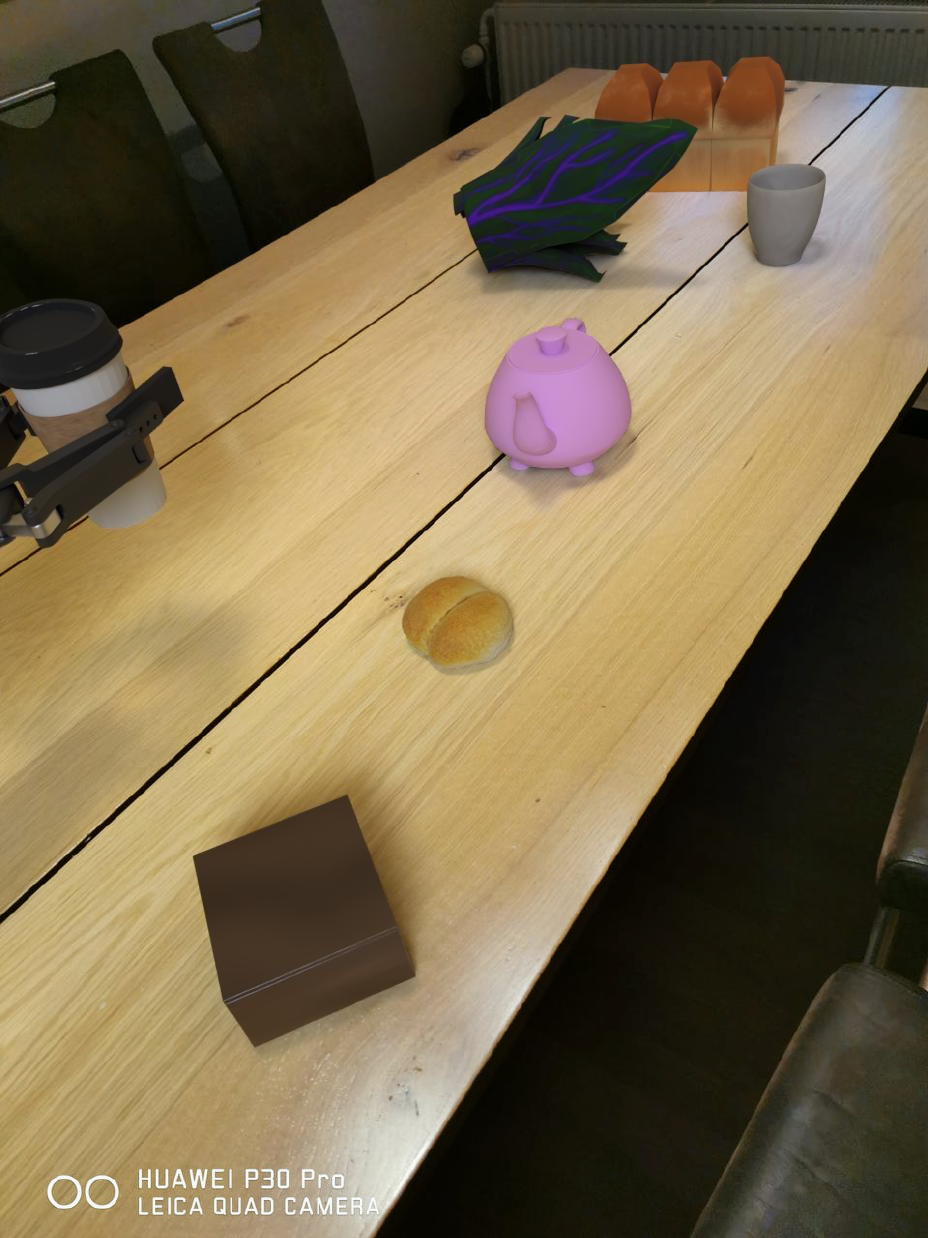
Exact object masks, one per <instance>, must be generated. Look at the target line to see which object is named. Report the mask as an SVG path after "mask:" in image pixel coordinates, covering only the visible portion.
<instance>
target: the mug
mask: <svg viewBox="0 0 928 1238" xmlns="http://www.w3.org/2000/svg"><path fill="white" fill-rule="evenodd" d="M826 183H827V176H826V174H825V171H824V170H822V169H821V168H819V167H817V166H814V165H810V164H804V163H781V164H775V165H774V166H769V167H765V168H762V169H760V170H758V171H756V172H754V173H753V174H752V175H751V176H750V178H749V180H748V186H747V191H746V217H747V226H748V231H749V236H750V239H751V243H752V245H753V248H754V250H755V253H756V259H757V261H758V262H760V263H761V264H763V265H766V266H770V267H783V266H785V267H786V266H791V265H794V264H796V263H797V262H799V261H800V260H801V259H802V257H803V254H804V252H805V250H806V248H807V246H808V245H809V243H810V241H811V239H812V237H813V235H814V233H815V230H816V229H817V225H818V222H819V219H820V215H821V212H822V208H823V203H824V198H825V191H826Z"/></svg>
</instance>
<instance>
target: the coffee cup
mask: <svg viewBox="0 0 928 1238" xmlns="http://www.w3.org/2000/svg"><path fill="white" fill-rule="evenodd" d="M123 344H124V339H123V337H122V335H121V334H120V331H119V328H118V327H117V326H116V325H114V323H112V322H111V321H110V319H109V317H108V315H107V313H106V312H105V310H104V309H103V308H102V307H101V306H100V305H98V304H96V303H94V302H91V301H87V300H82V299H75V298H47V299H41V300H36V301H32V302H29V303H26V304H23V305H20V306H18V307H16V308H13V309H11V310H9V311H6V312H5V313H3V314H1V315H0V384H1V385H3V386H5V387H7V388H10V389H11V391H12V393H13V394H14V396H15V398H16V399H17V400H18V406H19V409H20V410H21V412H22V413H23V415H24V416H25V418H26V419H27V421H28V422H29V424H30V426H31V427H32V429H33V430H34V432H35V433H36V435H37V436H38V437H37V438H38V440H39V441H40V442H41V444H42V446H43V447H44V449H45V451H46V452H47V455H48V454H50V453H51V452H53V451H55V450H57V449H59V448H61V447H63V446H65V445H67V444H69V443H71V442H72V441H74V440H76V439H78V438H80V437H82V436H84V435H86V434H88V433H90V432H92V431H94V430H95V429H97V428H99V427H101V426H103V425H105V424H107V423H109V422H108V420H107V418H106V416H105V415H106V414H107V413H108V412H109V411H111V410H112V409H113V408H114V407H115V406H117V405H118V404H120V403H121V402H122V401H123V400H124V399H125V398H126V397H127V396H128V395H130V394H131V393H132V392H133V391H134V390H135V389H136V386H135V383H134V379H133V376H132V373H131V370H130V368H129V367H128V366H127V365H126V364H125V360H124V358H123V354H122V352H121V349H122V348H123V346H124V345H123ZM144 442H145V445H146V447H147V449H148V452H149V454H150V457H151V459H152V463H151V464H150V465H149V466H148V467H147V468H145V469H144V470H143V471H142V472H140V473H139V474H138V475H136V476H135V477H134V478H132V479H131V480H130V481H128V482H127V483H126V484H124V485H123V486H122V487H120V488H119V489H118V490H116V491H115V492H114V493H113V494H111V495H110V496H109V497H107V498H106V499H105V500H103V501H102V502H101V503H99V504H98V505H97V506H95V507H94V508H93V509H91V510H90V511H89V512H88V513H86V515H87V517H88V518H89V519H90V521H91V523H93V524H94V525H95V526H96V527H99V528H101V529H107V530H121V529H126V528H130V527H133V526H136V525H139V524H141V523H143V522H145V521H147V520H149V519H151V518H153V516H155V515H156V514H157V513H159V511H161V509H162V508H163V507H164V505H165V504H166V502H167V498H168V491H167V489H166V486H165V483H164V479H163V476H162V473H161V470H160V467H159V465H158V461H157V458H156V455H155V449H154V446H153V444H152V440H151V436H150V434H149V435H148V436H147V437H146V438H145V439H144Z"/></svg>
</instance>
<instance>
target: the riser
mask: <svg viewBox="0 0 928 1238" xmlns="http://www.w3.org/2000/svg"><path fill="white" fill-rule="evenodd" d="M192 861H193V866H194V869H195V875H196V879H197V884H198V888H199V894H200V898H201V904H202V908H203V913H204V918H205V923H206V928H207V932H208V937H209V942H210V947H211V951H212V956H213V961H214V966H215V971H216V975H217V980H218V985H219V989H220V995H221V999H222V1002H223V1004H224V1005H225V1007H226V1008H227V1009H228V1011H229V1013H230V1014H231V1015H232V1017H233V1018H234V1020H235V1022H236V1023H237V1024H238V1025H239V1027H240V1029H241V1030H242V1031H243V1033H244V1035H245V1036H246V1038H247V1040H249V1041H250V1043H251V1045H252V1046H253V1047H254V1048H257V1047H259V1046H262V1045H264V1044H266V1043H269V1042H271V1041H273V1040H276V1039H278V1038H280V1037H282V1036H284V1035H286V1034H288V1033H291V1032H293V1031H296V1030H297V1029H301V1028H302V1027H305V1026H306V1025H309V1024H311V1023H314V1022H316V1021H318V1020H320V1019H322V1018H325V1017H327V1016H330V1015H332V1014H333V1013H336V1012H339V1011H341V1010H343V1009H345V1008H348V1007H350V1006H352V1005H355V1004H356V1003H359V1002H361V1001H363V1000H365V999H367V998H370V997H372V996H374V995H377V994H379V993H382V992H383V991H386V990H389V989H390V988H393V987H395V986H397V985H400V984H402V983H404V982H406V981H408V980H410V979H413V978H415V977H416V973H415V970H414V968H413V963H412V962H411V959H410V956H409V953H408V950H407V947H406V946H405V945H406V944H405V943H404V940H403V936H402V934H401V931H400V929H399V926H398V924H397V921H396V918H395V915H394V913H393V910H392V908H391V907H392V906H391V905H390V902H389V900H388V897H387V894H386V892H385V888H384V886H383V884H382V881H381V878H380V876H379V873H378V870H377V868H376V865H375V863H374V860H373V858H372V854H371V852H370V849H369V847H368V844H367V841H366V839H365V835H364V833H363V830H362V828H361V826H360V823H359V820H358V818H357V815H356V813H355V810H354V807H353V804H352V802H351V799H350V797H349V794H348V793H346V794H344V795H341V796H339V797H336V798H334V799H331V800H329V801H325V802H324V803H321V804H318V805H315V806H314V807H311V808H309V809H306V810H304V811H301V812H299V813H297V814H294V815H291V816H289V817H286V818H284V819H281V820H278V821H276V822H273V823H272V824H269V825H267V826H264V827H261V828H258V829H256V830H254V831H251V832H249V833H246V834H243V835H241V836H239V837H236V838H234V839H231V840H229V841H226V842H223V843H220V844H219V845H216V846H214V847H211V848H209V849H206V850H204V851H201V852H198V853H196V854H194V855H192Z"/></svg>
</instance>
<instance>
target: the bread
mask: <svg viewBox="0 0 928 1238" xmlns="http://www.w3.org/2000/svg"><path fill="white" fill-rule="evenodd" d="M784 75H785V74H784V72H783V71H782V68H781V65H780V64H779V63H777V62H776V61H775V60H774V59H773V58H771V57H770V56H756V57H755V56H754V57H741V58H740V59H738V60H737V62H735V63H734V65H733V66H732V67H731V68H730V70H729V72H728V74H727V76H726V78H725V80H724V76H723V73H722V69H721V68H720V67H719V65H717V64H716V63H715V62H714V61H713V60H712V59H709V60H694V61H693V60H692V61H676V62H674V63H673V65H672V66H671V67H670V70H669V71H668V73H667V75H666V76H665V79H664V78H663V76H662V73H661V72H660V71H659V70H658V69H656V68H655V67H654V66H651V65H650V64H649V63H648V62H646V63H645V62H644V63H643V62H642V63H629V64H628V63H626V64H621V65H620V66H619V67H618V69H617V70H616V72H615V73H614V74H613V75H612V76H611V78H610V79H609V81H608V83H607V84H606V85H605V86H604V87H603V89H602V90H601V93H600V96H599V98H598V102H597V104H596V108H595V110H594V118H593V119H603V120H614V121H626V122H638V123H642V122H647V121H652V120H656V119H667V118H674V119H680V120H682V121H684V122H686V123H688V124H690V125H692V126H694V127H696V128H698V130H697V132H696V134H695V136H694V138H693V139H692V141H691V143H690V145H689V147H688V149H687V150H686V152H685V153H684V155H683V156H682V158H681V159H680V160H679V162H678V163H677V164H676V166H675V167H674V168H673V169H672V170H671V171H670V172H669V173H668V174H666V175H665V176H664V177H663V178H662V179H660V180H659V181H658V182H657V183H656V184H655V185H654V186H653V187H652V188H651V189H650V190H649V191H648V192H647V193H674V192H675V193H677V192H679V193H680V192H682V193H683V192H685V193H686V192H687V193H688V192H747V186H748V180H749V178H750V176H751V175H752V174H753V173H754V172H756V171H758V170H760V169H762V168H765V167H769V166H774V165H776V162H777V157H778V156H777V155H778V144H779V143H778V142H779V132H780V131H779V130H780V121H781V116H782V113H783V109H784V107H785V100H786V99H785V97H786V95H785V94H786V93H785V92H786V78H785V76H784Z"/></svg>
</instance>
